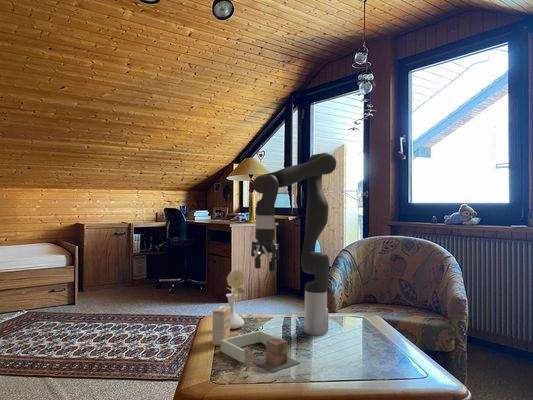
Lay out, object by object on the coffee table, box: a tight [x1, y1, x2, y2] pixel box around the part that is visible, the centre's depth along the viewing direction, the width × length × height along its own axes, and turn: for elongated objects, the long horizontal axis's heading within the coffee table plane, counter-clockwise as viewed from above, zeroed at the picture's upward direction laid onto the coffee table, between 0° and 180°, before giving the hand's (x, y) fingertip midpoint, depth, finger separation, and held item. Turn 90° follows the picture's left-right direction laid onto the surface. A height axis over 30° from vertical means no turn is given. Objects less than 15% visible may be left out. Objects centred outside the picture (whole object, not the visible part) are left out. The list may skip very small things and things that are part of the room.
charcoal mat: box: [253, 356, 301, 374], centre depth 134 cm, size 12×10×1 cm
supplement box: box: [211, 305, 231, 347], centre depth 153 cm, size 8×5×13 cm, turn 168°
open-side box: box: [220, 330, 278, 364], centre depth 144 cm, size 18×14×4 cm
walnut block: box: [265, 337, 288, 366], centre depth 134 cm, size 5×5×7 cm
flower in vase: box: [225, 269, 247, 330], centre depth 172 cm, size 13×11×25 cm
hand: (264, 269), depth 152 cm, fingers open, 8 cm apart
